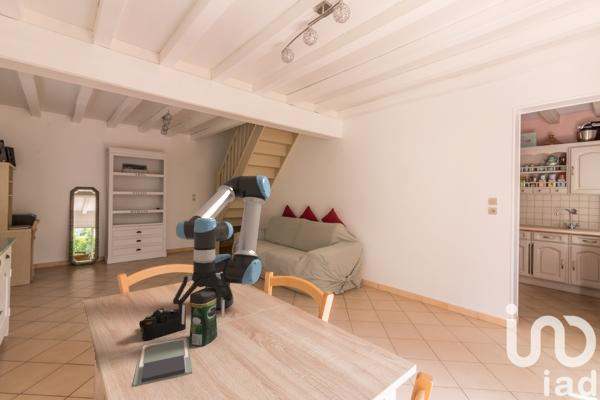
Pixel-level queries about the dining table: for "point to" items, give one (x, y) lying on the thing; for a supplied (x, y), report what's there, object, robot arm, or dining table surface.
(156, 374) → the pad
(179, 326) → the film camera
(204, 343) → the coffee jar
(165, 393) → the dining table surface
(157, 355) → the board
